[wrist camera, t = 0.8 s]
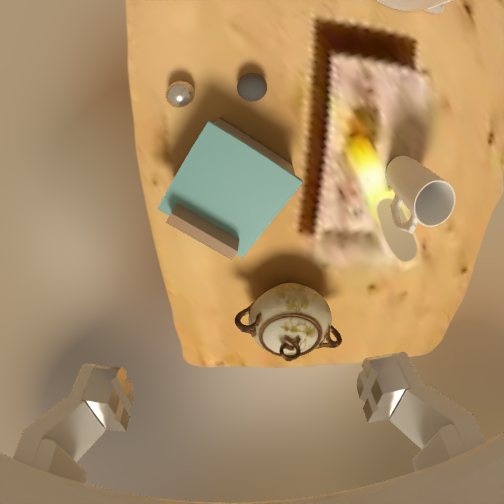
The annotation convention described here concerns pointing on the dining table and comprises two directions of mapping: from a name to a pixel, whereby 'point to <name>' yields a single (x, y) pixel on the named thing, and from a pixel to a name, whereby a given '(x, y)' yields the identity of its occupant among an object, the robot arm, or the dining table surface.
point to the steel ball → (180, 94)
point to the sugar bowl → (290, 321)
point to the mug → (418, 194)
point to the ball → (252, 87)
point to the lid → (227, 192)
